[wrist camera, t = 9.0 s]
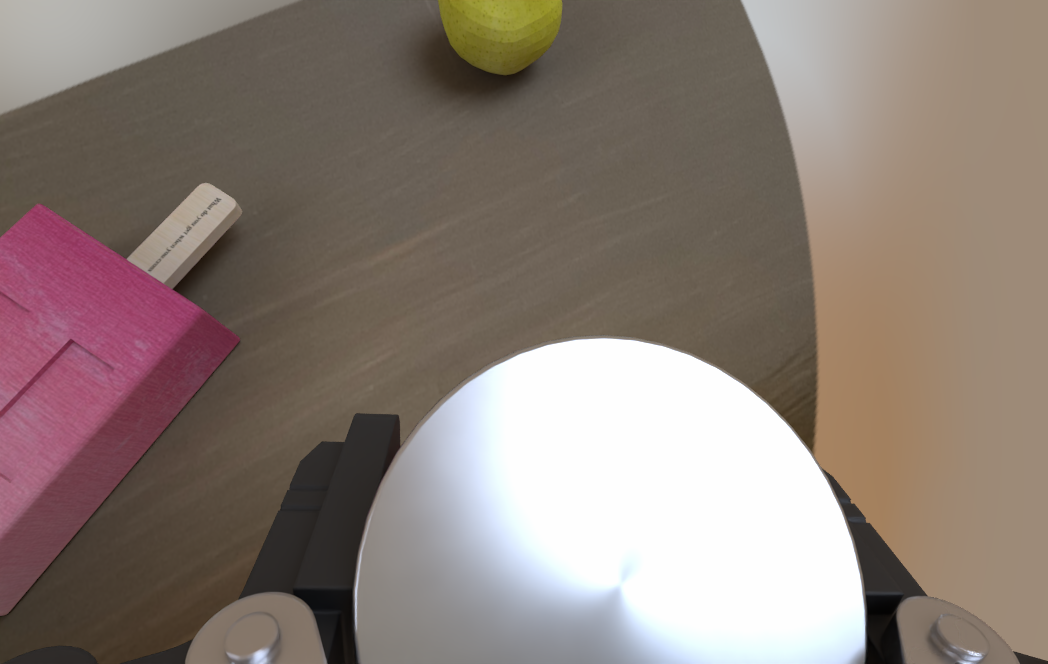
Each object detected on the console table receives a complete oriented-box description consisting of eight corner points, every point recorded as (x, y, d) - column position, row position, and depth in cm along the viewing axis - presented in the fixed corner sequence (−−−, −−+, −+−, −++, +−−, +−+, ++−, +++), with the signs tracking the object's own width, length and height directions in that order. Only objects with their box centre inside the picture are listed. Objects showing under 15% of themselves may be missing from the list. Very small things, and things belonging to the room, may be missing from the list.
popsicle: (283, 218, 26) (-95, 639, 19) (310, 262, 30) (11, 615, 24) (123, 118, 26) (-292, 494, 20) (173, 175, 31) (-152, 496, 25)
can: (665, 496, 17) (933, 479, 7) (571, 708, 15) (767, 1065, 5) (488, 395, 17) (518, 249, 8) (374, 587, 15) (223, 717, 6)
